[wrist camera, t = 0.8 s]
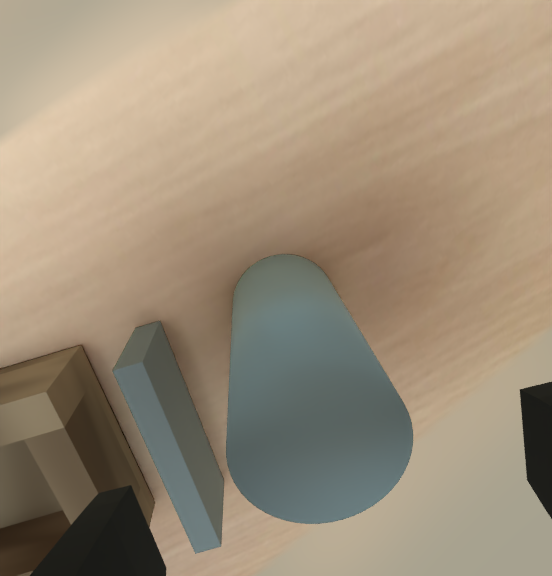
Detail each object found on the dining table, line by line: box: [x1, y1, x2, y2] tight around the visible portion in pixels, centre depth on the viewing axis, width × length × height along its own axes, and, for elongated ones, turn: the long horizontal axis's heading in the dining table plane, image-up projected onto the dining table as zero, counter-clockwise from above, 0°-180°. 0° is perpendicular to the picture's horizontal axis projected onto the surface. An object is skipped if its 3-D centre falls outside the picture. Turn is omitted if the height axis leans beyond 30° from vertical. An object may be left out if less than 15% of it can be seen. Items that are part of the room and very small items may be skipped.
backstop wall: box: [113, 321, 224, 554], centre depth 18 cm, size 1×8×4 cm, turn 16°
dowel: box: [226, 254, 413, 524], centre depth 14 cm, size 4×4×9 cm
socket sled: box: [0, 345, 155, 576], centre depth 18 cm, size 8×8×4 cm
